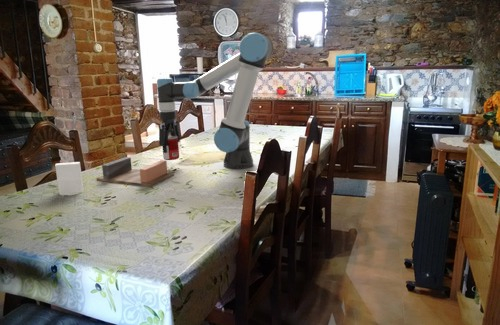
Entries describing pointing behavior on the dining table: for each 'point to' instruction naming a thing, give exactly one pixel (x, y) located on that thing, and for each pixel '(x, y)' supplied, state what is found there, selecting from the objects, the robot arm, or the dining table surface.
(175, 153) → the canned food
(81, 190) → the white upright block
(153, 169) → the block
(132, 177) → the vise base
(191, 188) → the dining table surface
